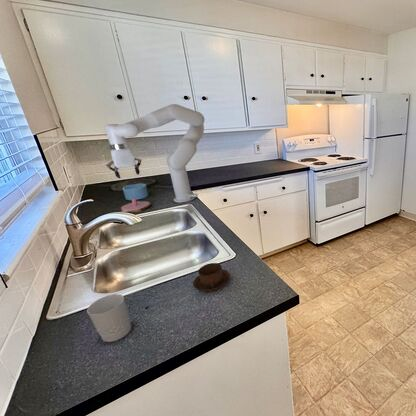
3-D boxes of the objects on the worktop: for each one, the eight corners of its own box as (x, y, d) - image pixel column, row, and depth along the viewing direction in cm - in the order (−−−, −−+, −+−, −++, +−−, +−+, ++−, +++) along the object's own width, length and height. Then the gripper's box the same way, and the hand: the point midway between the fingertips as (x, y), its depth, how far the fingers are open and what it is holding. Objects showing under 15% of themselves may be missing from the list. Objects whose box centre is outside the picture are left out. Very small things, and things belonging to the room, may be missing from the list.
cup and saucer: (236, 283, 95) (234, 268, 92) (202, 299, 87) (198, 284, 85) (221, 269, 103) (219, 255, 100) (189, 283, 95) (185, 268, 93)
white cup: (91, 342, 72) (78, 313, 68) (117, 320, 79) (106, 292, 75) (117, 345, 71) (105, 316, 67) (140, 323, 78) (131, 295, 74)
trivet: (150, 205, 171) (150, 203, 170) (141, 211, 160) (140, 210, 160) (132, 205, 170) (132, 204, 170) (121, 212, 160) (121, 210, 159)
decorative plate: (119, 180, 222) (160, 177, 230) (120, 182, 223) (160, 179, 230) (102, 191, 195) (148, 187, 203) (103, 193, 196) (149, 189, 203)
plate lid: (151, 201, 174) (149, 193, 172) (148, 209, 161) (145, 200, 159) (124, 205, 168) (121, 196, 166) (118, 213, 156) (115, 204, 154)
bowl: (150, 192, 195) (147, 182, 192) (147, 198, 183) (144, 187, 181) (127, 195, 190) (124, 185, 187) (123, 201, 178) (120, 190, 175)
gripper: (102, 149, 144) (113, 180, 150) (138, 145, 156) (147, 173, 162) (98, 148, 148) (109, 178, 155) (134, 144, 160) (142, 172, 167)
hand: (128, 176), depth 158 cm, fingers open, 9 cm apart
